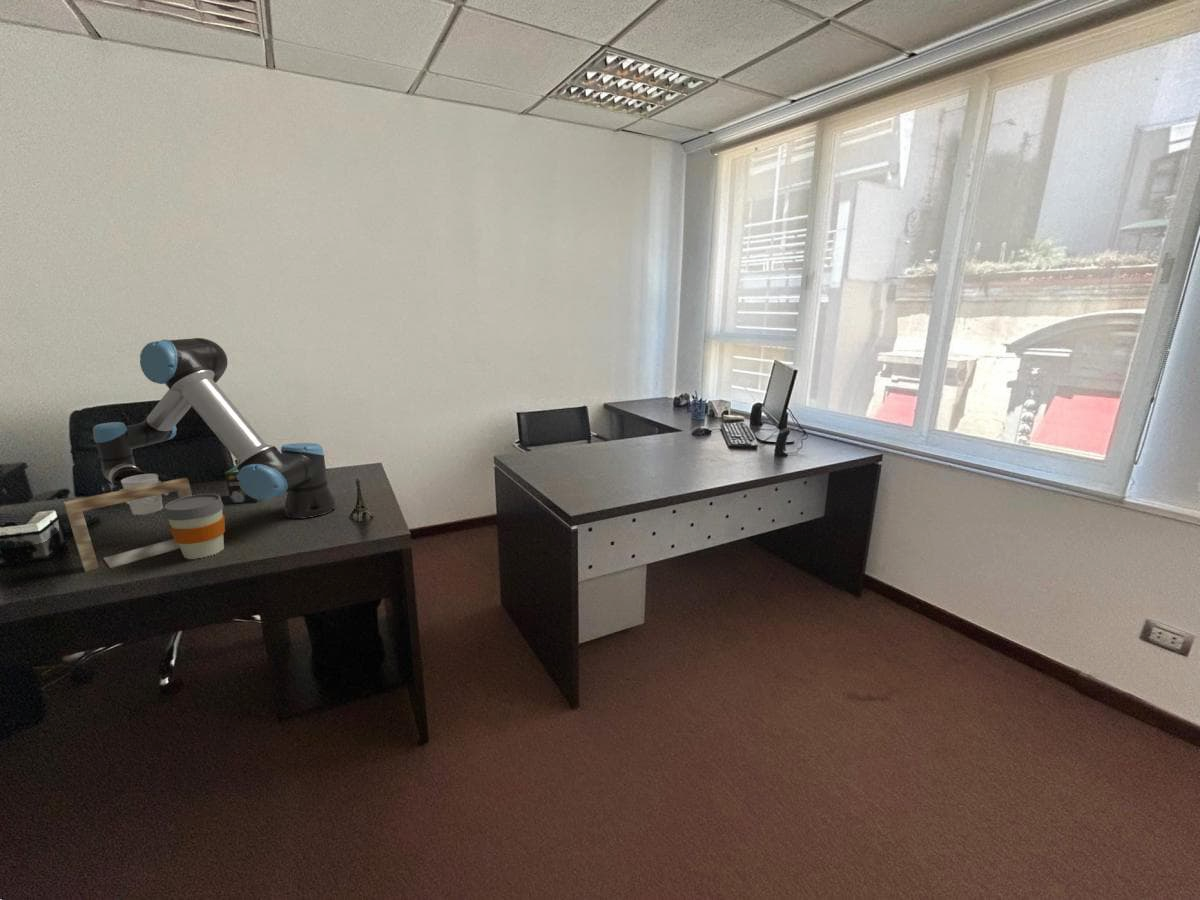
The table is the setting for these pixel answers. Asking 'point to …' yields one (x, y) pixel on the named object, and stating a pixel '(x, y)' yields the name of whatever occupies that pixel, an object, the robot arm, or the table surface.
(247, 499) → the chalk box
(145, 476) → the white cup
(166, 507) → the reusable coffee cup
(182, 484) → the bridge
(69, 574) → the table surface
